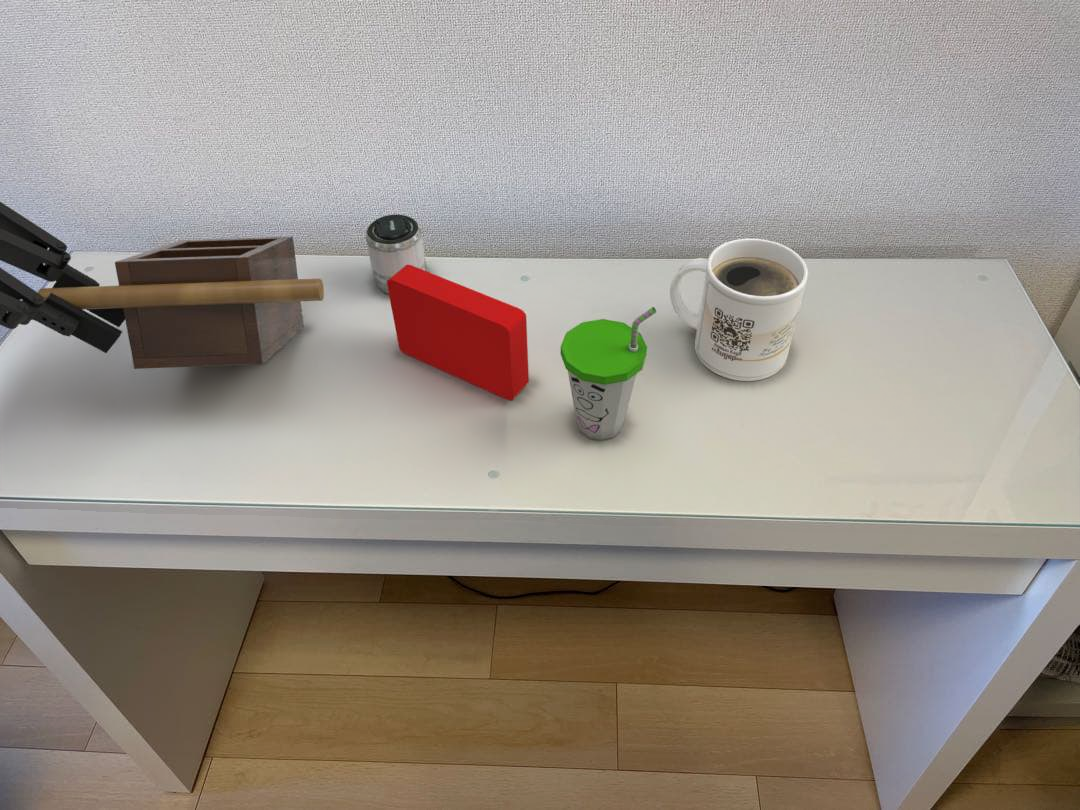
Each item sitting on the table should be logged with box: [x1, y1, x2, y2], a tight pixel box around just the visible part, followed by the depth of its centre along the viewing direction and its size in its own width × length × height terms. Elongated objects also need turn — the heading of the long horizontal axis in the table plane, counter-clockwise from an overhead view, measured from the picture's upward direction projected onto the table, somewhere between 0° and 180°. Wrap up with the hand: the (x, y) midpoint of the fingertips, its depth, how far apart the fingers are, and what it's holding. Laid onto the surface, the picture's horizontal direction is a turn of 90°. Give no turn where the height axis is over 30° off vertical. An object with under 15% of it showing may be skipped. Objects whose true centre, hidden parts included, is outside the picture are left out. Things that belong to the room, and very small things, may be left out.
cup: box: [560, 306, 657, 442], centre depth 79 cm, size 8×8×15 cm
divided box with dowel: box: [37, 235, 325, 370], centre depth 85 cm, size 18×25×10 cm
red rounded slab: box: [387, 265, 530, 401], centre depth 87 cm, size 15×3×10 cm, turn 58°
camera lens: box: [364, 214, 427, 295], centre depth 98 cm, size 6×6×8 cm
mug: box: [669, 237, 809, 382], centre depth 88 cm, size 10×12×11 cm
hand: (120, 329), depth 80 cm, fingers closed on divided box with dowel, 3 cm apart
